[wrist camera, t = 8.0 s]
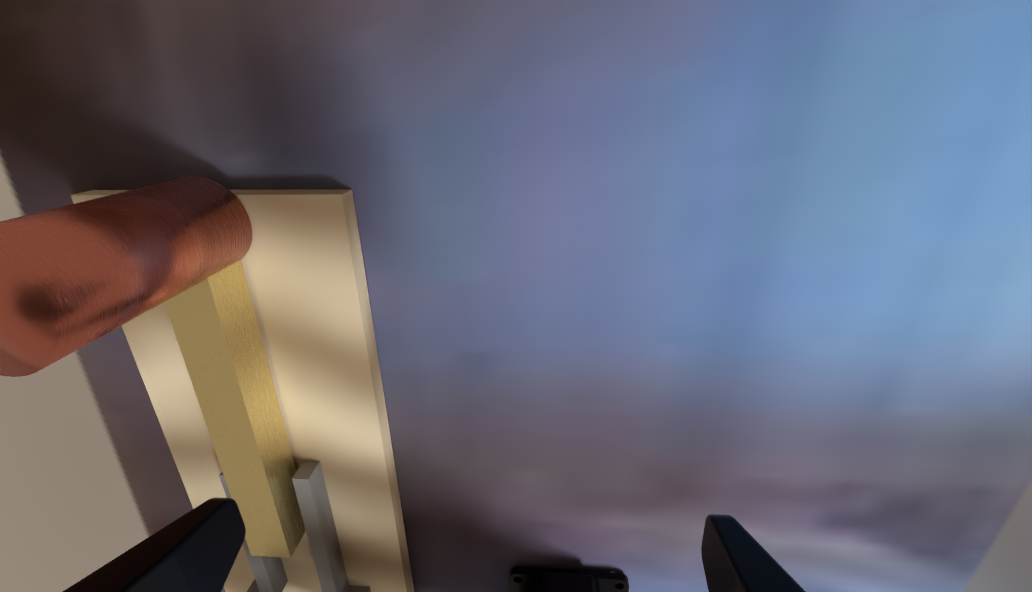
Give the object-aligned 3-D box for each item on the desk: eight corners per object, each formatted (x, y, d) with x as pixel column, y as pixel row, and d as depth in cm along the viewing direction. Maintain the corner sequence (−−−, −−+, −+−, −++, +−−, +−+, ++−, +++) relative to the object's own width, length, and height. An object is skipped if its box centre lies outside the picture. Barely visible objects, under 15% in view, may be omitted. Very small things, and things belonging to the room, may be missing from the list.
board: (419, 627, 30) (380, 781, 23) (250, 615, 30) (166, 760, 24) (352, 189, 19) (241, 244, 12) (93, 189, 20) (-141, 241, 13)
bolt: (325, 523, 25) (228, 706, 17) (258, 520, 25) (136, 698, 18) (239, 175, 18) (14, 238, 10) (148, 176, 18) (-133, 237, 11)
